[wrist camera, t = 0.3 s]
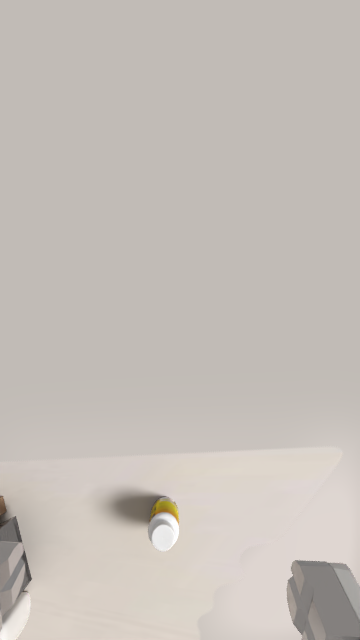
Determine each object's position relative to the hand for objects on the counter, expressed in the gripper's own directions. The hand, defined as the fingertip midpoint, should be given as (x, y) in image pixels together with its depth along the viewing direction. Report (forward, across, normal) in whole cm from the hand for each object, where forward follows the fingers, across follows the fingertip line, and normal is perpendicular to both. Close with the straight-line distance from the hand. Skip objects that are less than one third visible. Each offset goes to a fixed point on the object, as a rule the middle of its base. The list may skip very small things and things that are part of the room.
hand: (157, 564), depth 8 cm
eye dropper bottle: (+30, -25, -58) cm, 70 cm away
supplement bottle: (+38, 0, -42) cm, 57 cm away
